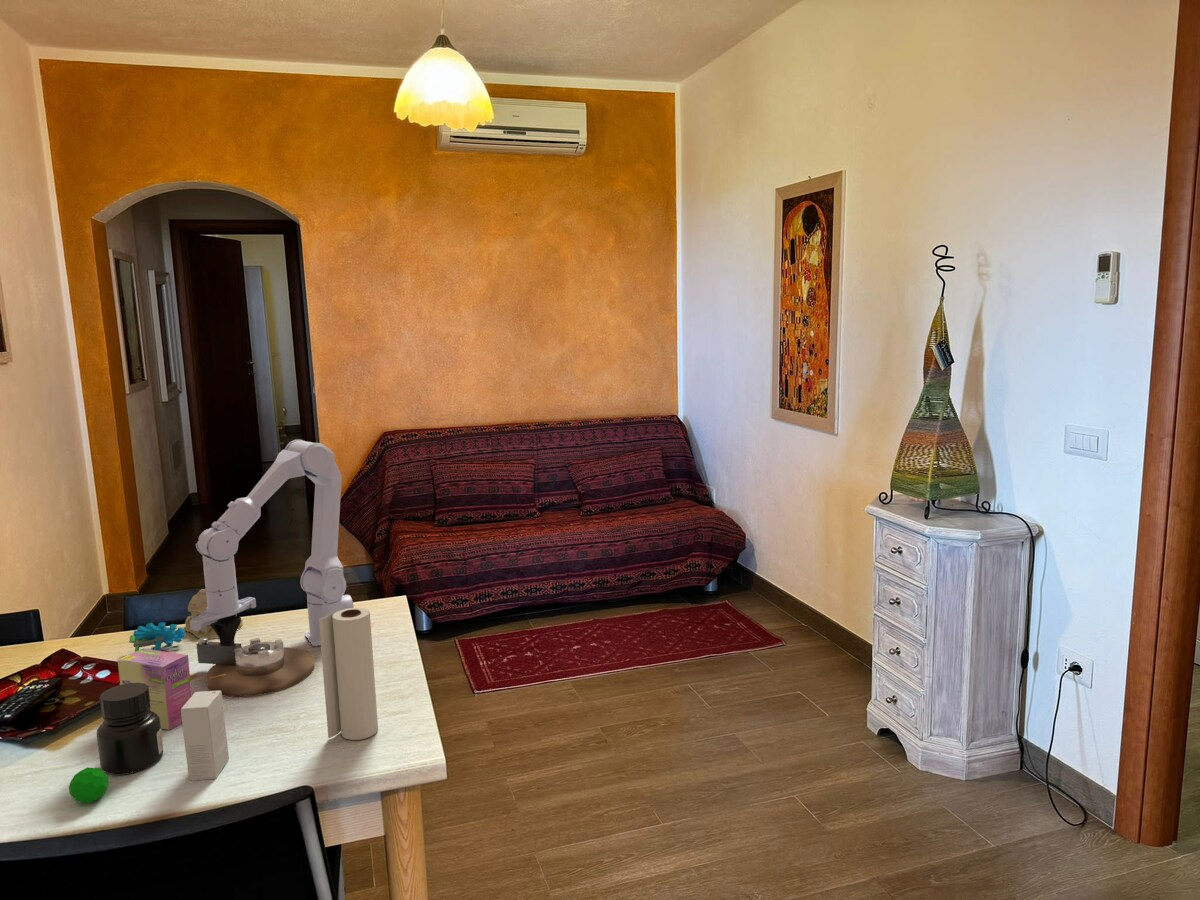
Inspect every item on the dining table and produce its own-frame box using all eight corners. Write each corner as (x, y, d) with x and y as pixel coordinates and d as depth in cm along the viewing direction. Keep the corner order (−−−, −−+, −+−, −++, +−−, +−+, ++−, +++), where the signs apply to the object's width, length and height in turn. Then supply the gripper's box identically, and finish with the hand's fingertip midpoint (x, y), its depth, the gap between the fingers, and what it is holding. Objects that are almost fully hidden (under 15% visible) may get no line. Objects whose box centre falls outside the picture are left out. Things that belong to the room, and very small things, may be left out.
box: (195, 716, 152) (188, 653, 150) (169, 731, 147) (162, 666, 145) (150, 708, 155) (143, 647, 153) (123, 722, 150) (116, 659, 148)
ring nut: (293, 658, 172) (291, 635, 172) (268, 676, 164) (265, 652, 163) (215, 653, 176) (212, 630, 175) (186, 671, 167) (183, 647, 167)
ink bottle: (177, 754, 139) (169, 685, 137) (128, 781, 131) (119, 708, 129) (137, 743, 143) (129, 675, 141) (86, 769, 135) (77, 698, 133)
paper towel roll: (384, 725, 147) (376, 607, 143) (367, 742, 141) (359, 619, 137) (346, 722, 148) (337, 605, 145) (328, 739, 142) (318, 617, 139)
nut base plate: (301, 646, 183) (301, 639, 183) (325, 679, 166) (324, 671, 166) (200, 668, 172) (199, 661, 172) (214, 706, 156) (213, 697, 155)
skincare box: (202, 761, 136) (194, 691, 134) (229, 759, 137) (222, 689, 135) (187, 781, 130) (179, 708, 128) (216, 779, 131) (208, 706, 129)
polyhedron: (85, 812, 123) (81, 782, 122) (63, 805, 125) (59, 775, 124) (117, 794, 127) (114, 765, 126) (96, 787, 129) (92, 758, 128)
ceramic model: (254, 626, 196) (250, 584, 195) (212, 643, 187) (207, 599, 185) (214, 617, 203) (210, 576, 201) (171, 632, 193) (166, 590, 192)
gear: (194, 634, 187) (172, 616, 179) (191, 660, 183) (169, 642, 175) (143, 644, 186) (119, 625, 178) (139, 669, 183) (115, 652, 175)
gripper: (236, 575, 178) (242, 636, 180) (176, 596, 165) (183, 662, 167) (260, 578, 175) (266, 641, 177) (201, 601, 162) (208, 668, 164)
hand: (228, 652), depth 172 cm, fingers closed, pressing on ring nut
